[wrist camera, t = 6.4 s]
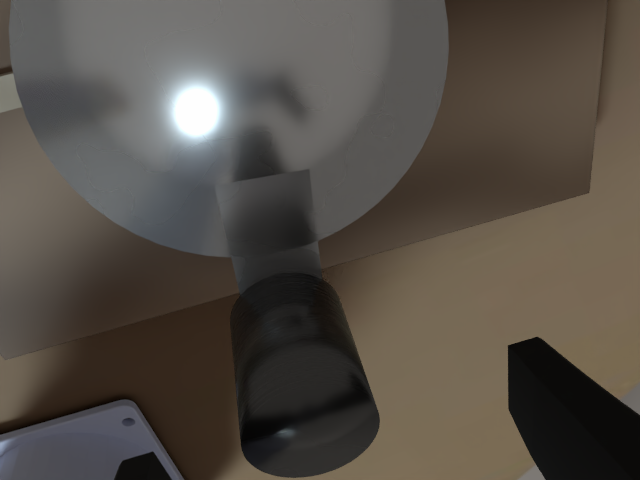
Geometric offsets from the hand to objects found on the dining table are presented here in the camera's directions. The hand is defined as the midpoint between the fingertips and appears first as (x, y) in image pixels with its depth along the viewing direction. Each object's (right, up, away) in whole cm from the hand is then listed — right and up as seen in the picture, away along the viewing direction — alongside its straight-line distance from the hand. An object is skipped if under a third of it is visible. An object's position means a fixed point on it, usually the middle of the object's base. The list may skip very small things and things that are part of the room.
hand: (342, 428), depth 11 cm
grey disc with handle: (-2, +7, +2) cm, 7 cm away
